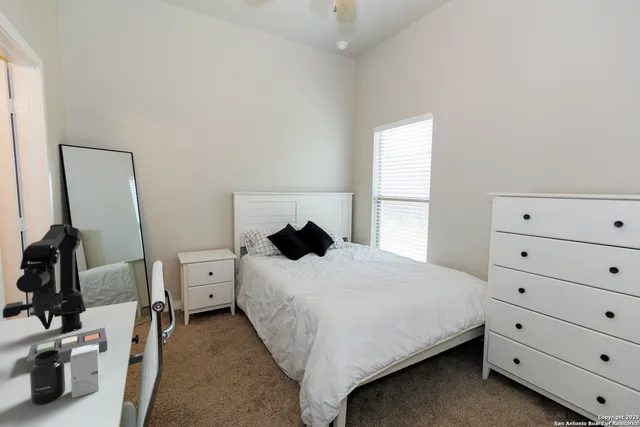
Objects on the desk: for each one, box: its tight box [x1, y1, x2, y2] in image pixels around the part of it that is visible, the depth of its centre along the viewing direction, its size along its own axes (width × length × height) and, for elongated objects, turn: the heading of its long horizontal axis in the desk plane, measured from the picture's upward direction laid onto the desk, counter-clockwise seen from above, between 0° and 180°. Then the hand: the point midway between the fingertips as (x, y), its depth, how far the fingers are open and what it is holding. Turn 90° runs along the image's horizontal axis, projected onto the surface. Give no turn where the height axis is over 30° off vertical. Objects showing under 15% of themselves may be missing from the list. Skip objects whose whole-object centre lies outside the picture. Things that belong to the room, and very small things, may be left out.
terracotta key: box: [85, 333, 99, 342], centre depth 105 cm, size 4×4×2 cm
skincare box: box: [70, 343, 101, 399], centre depth 82 cm, size 6×4×12 cm
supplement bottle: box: [29, 350, 66, 406], centre depth 80 cm, size 7×7×12 cm
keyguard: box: [25, 327, 109, 373], centre depth 101 cm, size 12×20×4 cm, turn 129°
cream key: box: [62, 336, 78, 347], centre depth 101 cm, size 4×4×2 cm
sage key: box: [37, 341, 55, 354], centre depth 97 cm, size 4×4×2 cm
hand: (47, 328), depth 97 cm, fingers closed
